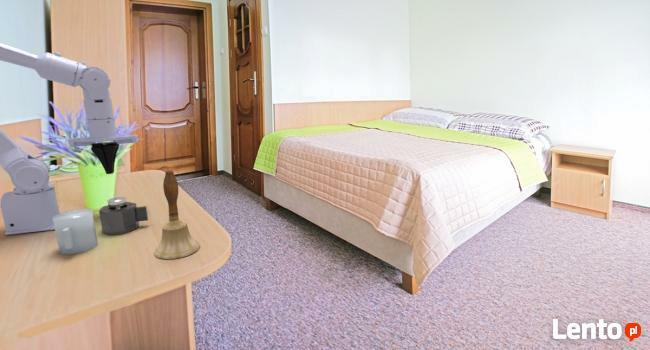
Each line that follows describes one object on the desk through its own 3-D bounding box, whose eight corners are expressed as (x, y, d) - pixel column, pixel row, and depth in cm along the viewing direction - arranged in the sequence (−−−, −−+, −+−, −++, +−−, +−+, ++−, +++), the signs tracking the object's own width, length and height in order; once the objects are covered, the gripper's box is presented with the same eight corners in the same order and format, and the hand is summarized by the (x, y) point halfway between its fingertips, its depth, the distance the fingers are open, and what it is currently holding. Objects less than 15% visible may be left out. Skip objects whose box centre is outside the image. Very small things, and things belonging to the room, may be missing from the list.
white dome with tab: (49, 261, 64) (42, 226, 63) (66, 243, 72) (59, 211, 70) (89, 255, 66) (83, 221, 65) (101, 238, 74) (96, 207, 72)
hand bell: (163, 242, 72) (153, 167, 68) (204, 240, 73) (197, 165, 69) (147, 261, 64) (135, 177, 60) (193, 258, 65) (184, 175, 61)
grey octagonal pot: (100, 236, 75) (96, 213, 74) (108, 225, 81) (104, 204, 80) (146, 230, 78) (143, 208, 77) (150, 220, 84) (147, 199, 83)
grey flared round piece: (110, 229, 77) (105, 202, 75) (114, 224, 80) (109, 197, 79) (128, 227, 78) (124, 200, 77) (131, 222, 81) (127, 196, 80)
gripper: (59, 121, 79) (71, 179, 82) (130, 118, 83) (139, 173, 86) (70, 119, 85) (80, 173, 88) (136, 116, 89) (144, 168, 93)
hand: (110, 173), depth 88 cm, fingers closed
